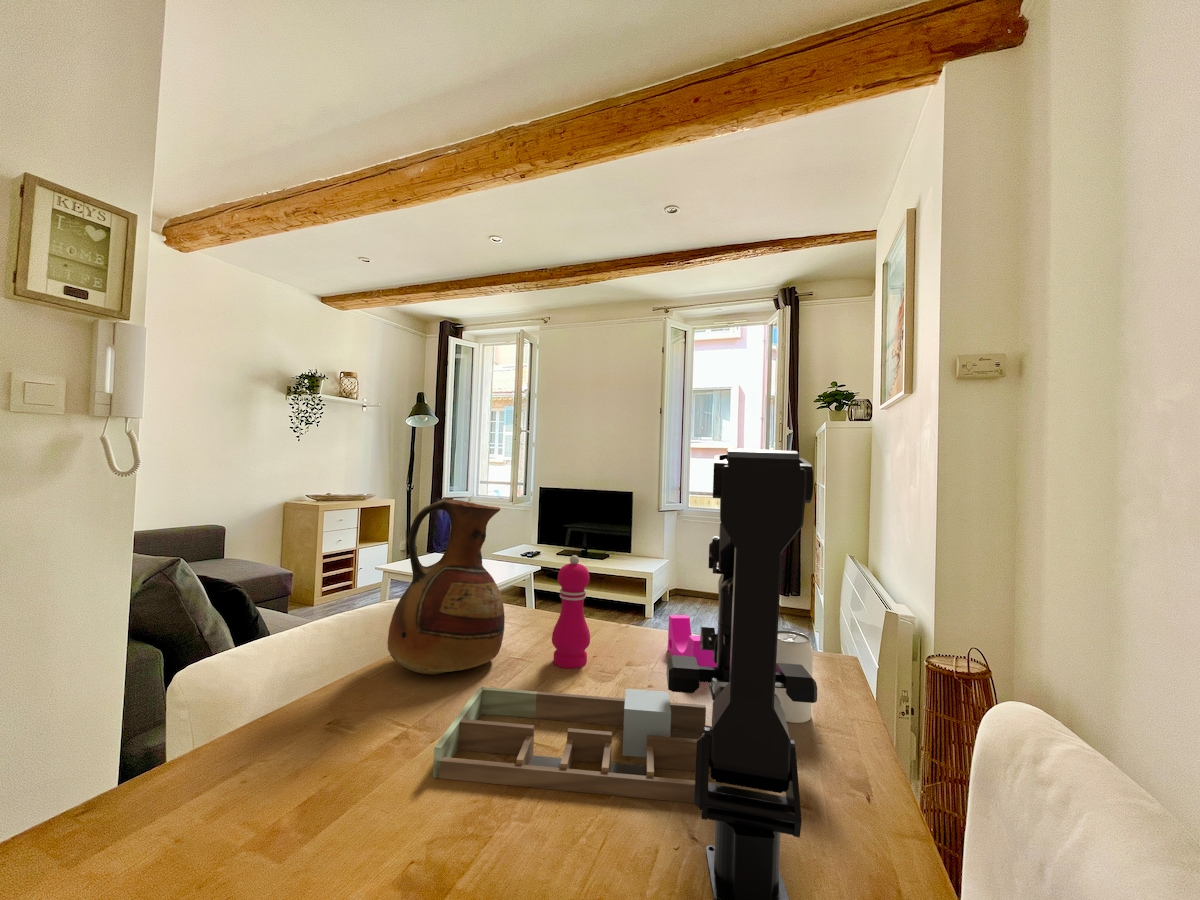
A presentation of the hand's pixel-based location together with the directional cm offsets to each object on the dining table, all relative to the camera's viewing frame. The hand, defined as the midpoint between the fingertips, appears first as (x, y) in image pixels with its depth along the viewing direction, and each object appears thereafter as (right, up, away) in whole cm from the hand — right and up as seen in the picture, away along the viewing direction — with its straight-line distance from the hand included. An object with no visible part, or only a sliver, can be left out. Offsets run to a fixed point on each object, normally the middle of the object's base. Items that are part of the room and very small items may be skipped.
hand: (736, 743), depth 67 cm
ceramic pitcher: (-46, 0, +25) cm, 52 cm away
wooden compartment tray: (-20, 0, -1) cm, 20 cm away
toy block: (0, -3, +29) cm, 29 cm away
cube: (-12, -1, +1) cm, 12 cm away
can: (+11, -2, +11) cm, 16 cm away
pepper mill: (-24, -1, +28) cm, 37 cm away
